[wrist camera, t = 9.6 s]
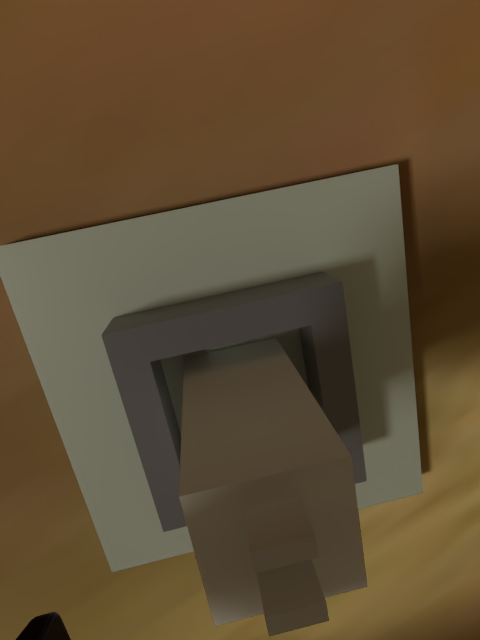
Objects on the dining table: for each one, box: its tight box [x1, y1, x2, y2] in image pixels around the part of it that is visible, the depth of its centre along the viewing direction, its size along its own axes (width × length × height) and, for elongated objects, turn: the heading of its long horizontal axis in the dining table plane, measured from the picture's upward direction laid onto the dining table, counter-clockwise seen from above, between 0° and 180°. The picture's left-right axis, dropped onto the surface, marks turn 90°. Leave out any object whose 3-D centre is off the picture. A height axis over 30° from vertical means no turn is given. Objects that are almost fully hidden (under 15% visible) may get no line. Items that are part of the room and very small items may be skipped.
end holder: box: [0, 164, 423, 572], centre depth 15 cm, size 14×14×3 cm
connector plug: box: [179, 338, 367, 636], centre depth 12 cm, size 4×4×8 cm
